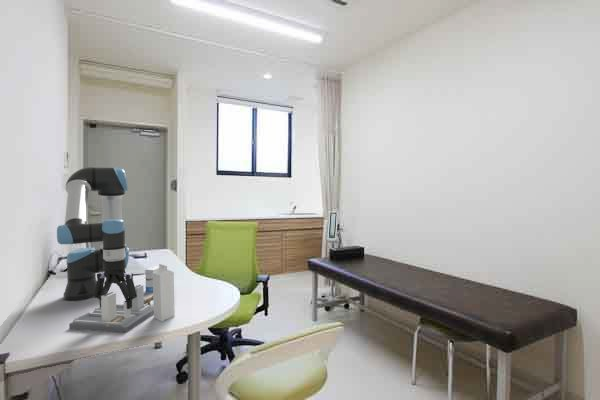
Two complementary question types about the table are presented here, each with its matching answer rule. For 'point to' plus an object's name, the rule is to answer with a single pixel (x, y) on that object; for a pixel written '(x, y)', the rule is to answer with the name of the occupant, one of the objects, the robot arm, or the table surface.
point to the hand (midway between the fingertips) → (116, 316)
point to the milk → (163, 293)
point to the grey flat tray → (116, 325)
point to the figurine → (148, 300)
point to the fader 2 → (138, 299)
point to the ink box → (150, 278)
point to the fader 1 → (108, 306)
